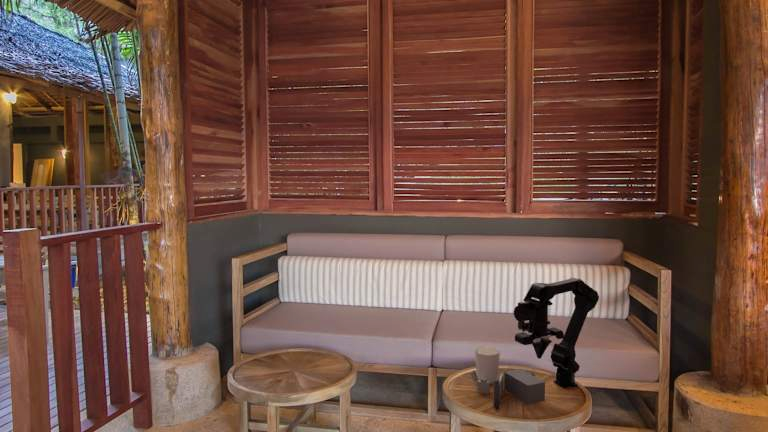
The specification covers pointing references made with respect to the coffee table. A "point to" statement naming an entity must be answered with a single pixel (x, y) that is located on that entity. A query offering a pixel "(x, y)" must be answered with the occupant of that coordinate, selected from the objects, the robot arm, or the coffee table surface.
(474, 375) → the lighter
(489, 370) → the candle holder
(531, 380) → the block
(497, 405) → the side door
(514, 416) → the coffee table surface
